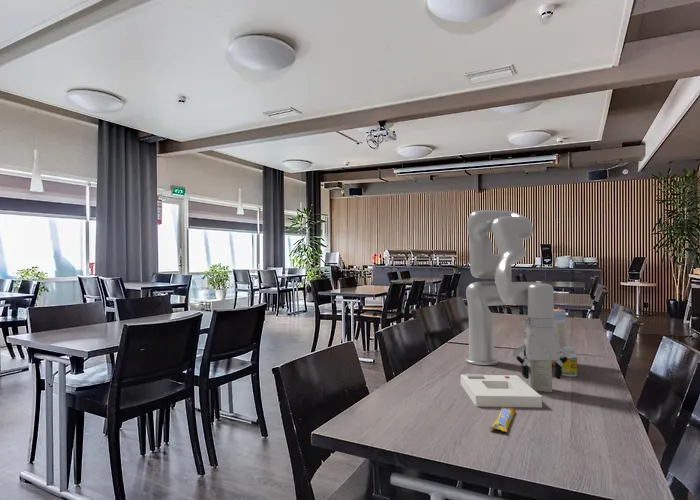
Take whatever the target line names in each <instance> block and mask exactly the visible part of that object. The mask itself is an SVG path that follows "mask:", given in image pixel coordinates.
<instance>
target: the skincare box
mask: <svg viewBox="0 0 700 500" xmlns="http://www.w3.org/2000/svg"><path fill="white" fill-rule="evenodd" d="M529 364H530V365H529V366H530V367H529V368H530V370H529V371H530V372H529V373H530V387H531V388H532V389H533V390H535V391H536V392H546V393H547V392H549V393H553V367H552V366H553V365H552V361H551V353H550V360H548V361H533V360H530V362H529Z"/></svg>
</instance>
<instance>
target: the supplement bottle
mask: <svg viewBox="0 0 700 500" xmlns="http://www.w3.org/2000/svg"><path fill="white" fill-rule="evenodd" d="M562 348H564V349H566V350H568V351H570V355H569V357H568V358H567V361H566V362H565V363H564V364H563V366H562V376H564V377H571V378H573V377H577V376H578V356H577V354H576V353H575V352H576V348H575V347H573V346H566V347H562ZM562 356H563V353H561V357H562ZM561 357H560V358H561Z"/></svg>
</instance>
